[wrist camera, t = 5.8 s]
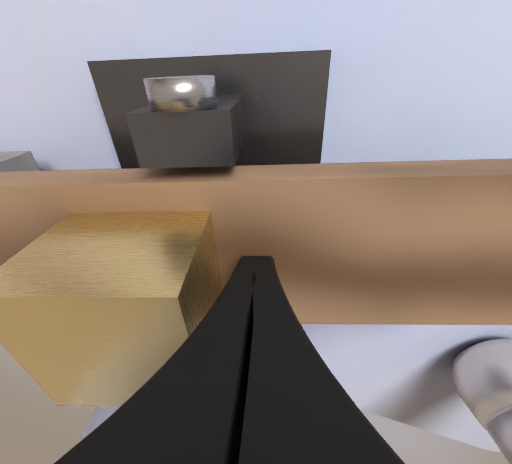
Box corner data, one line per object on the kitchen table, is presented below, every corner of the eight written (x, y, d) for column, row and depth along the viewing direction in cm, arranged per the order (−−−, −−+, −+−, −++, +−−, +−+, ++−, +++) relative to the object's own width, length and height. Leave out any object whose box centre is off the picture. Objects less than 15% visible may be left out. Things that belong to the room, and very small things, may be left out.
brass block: (225, 309, 12) (208, 408, 8) (116, 309, 12) (57, 405, 9) (210, 210, 9) (177, 297, 6) (71, 212, 9) (-42, 297, 6)
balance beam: (483, 260, 15) (555, 324, 11) (-5, 264, 17) (-84, 322, 13) (551, 135, 12) (691, 170, 8) (-86, 154, 13) (-231, 191, 9)
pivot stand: (305, 289, 19) (318, 373, 14) (168, 288, 19) (131, 368, 14) (326, 51, 11) (373, 39, 6) (100, 61, 12) (-29, 59, 7)
